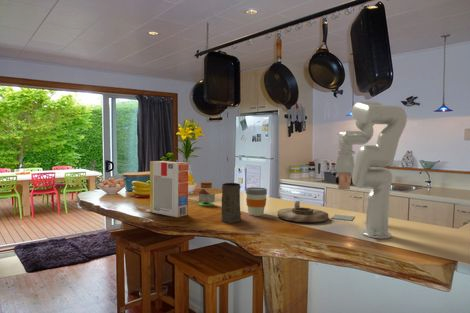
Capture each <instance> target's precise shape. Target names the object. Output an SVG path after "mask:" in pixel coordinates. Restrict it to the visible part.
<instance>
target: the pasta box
mask: <svg viewBox="0 0 470 313" xmlns="http://www.w3.org/2000/svg"><path fill="white" fill-rule="evenodd" d="M188 208H189V162H182V161H181V162H180V161H168V160H167V161H166V160H156V161H155V160H152V161H151V160H150V161H149V213H154V214H159V215H164V216H167V217H175V218H180V217H186V216H188V215H189V209H188Z"/></svg>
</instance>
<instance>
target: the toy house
mask: <svg viewBox="0 0 470 313" xmlns="http://www.w3.org/2000/svg"><path fill="white" fill-rule="evenodd" d="M212 184H213V182H211V181H201V182H200V188H201V189H199V191H198V193H197V195H198V203H197V205H198V206H200V207H201V206H202V207H211V206H214V205H215V201H216V199H215V198H216V197H215V196H216V195H215V193H209V192H207V191H206V190H205V189H212V187H213V185H212Z"/></svg>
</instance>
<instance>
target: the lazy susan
mask: <svg viewBox="0 0 470 313" xmlns="http://www.w3.org/2000/svg"><path fill="white" fill-rule="evenodd" d="M300 202H301V201H299V200H295V201H294V206H293V207H288V208H281V209H278V210H277V217H278V218H280V219H282V220H287V221H291V222H297V223H298V222H299V223H319V222H320V223H321V222H325V221H327V220H329V213H328V212H326V211H323V210H321V209H314V208H309V207H301V205H300Z"/></svg>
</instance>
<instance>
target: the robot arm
mask: <svg viewBox="0 0 470 313" xmlns="http://www.w3.org/2000/svg"><path fill="white" fill-rule="evenodd" d="M351 116H352V118H353V119H355V126H356V128H357V129H358V130H344V131H340V132H339V133H338V149H337V153H338V154H337V155H336V157H335V164H334V165H335V166H334V167H332V168H331V169H330V173H331V174H332V175H333V176H334V177H335V183H336V185H338V179H339V178H338V176H339V173H350V176H351V183H350V186H352V184H353V186H355V188H357V189H358V188H359V189H370V190H369V191H368V194H367V196H366V209H365V211H366V212H365V214H366V215H365V229H363V230H361V234H362V236H364V237H368V238H372V239H378V240H379V239H380V240H381V239H383V240H385V239H387V240H388V239H390V238H392V233H390V232H389V215H390V214H389V210H390V208H389V207H390V194H391V193H390V192H391V187H392V182H393V173H392V172H391V170H390V169H388V168H386V167H390V166H392V164H393V162H394V160H395V157H396V153H397V149H398V146H399V142H400V138H401V136H402V134H403V132H404V130H405V129H406V128H405V127H406V125H407V123H408V122H407V121H408V120H407V119H408V117H407V113H406V110H405V109H404V108H403V107H401V106H398V105H392V104H391V105H389V104H382V103H381V102H377V101H366V100H365V101H357V102H355V104H354V105H353V106H352V109H351ZM375 125H387V126H385V127H384V128H383V129H382V130H381V132H380V133H379V134H378V137H377V140H376V143H375V144H374V145H372V144H371V145H368V143H369V141H371V139H373V136H374V126H375ZM366 144H367V145H366ZM355 145H357V146H359V145H363V146H360V148H359V149H358V150H357V152H355V150H354V151H353V146H355ZM355 154H356V156H355V158H354V155H355Z"/></svg>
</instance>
